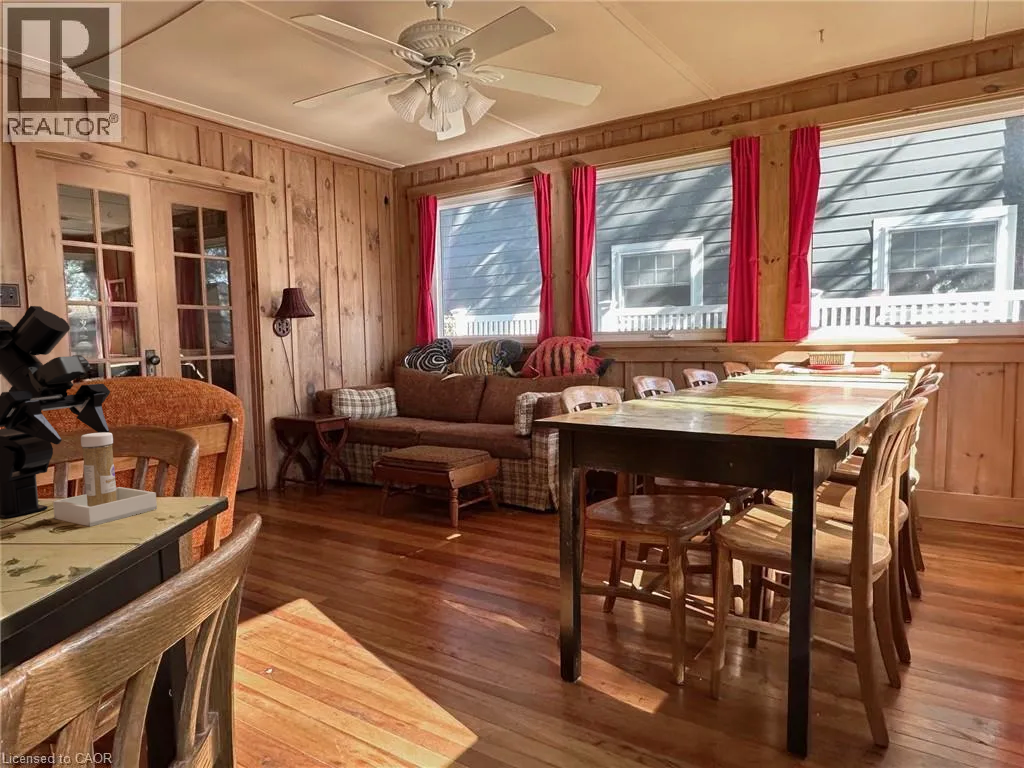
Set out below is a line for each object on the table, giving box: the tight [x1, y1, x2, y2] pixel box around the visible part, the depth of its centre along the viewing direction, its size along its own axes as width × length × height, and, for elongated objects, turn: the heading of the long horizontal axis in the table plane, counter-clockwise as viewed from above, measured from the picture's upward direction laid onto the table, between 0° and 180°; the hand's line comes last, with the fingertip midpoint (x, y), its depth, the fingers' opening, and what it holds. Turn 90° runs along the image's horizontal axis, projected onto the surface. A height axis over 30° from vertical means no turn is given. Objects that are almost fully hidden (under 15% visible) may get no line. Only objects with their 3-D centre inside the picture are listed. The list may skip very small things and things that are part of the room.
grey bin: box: [52, 486, 158, 527], centre depth 109 cm, size 11×11×3 cm
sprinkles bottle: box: [80, 432, 117, 507], centre depth 108 cm, size 5×5×14 cm
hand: (84, 438), depth 108 cm, fingers open, 9 cm apart
